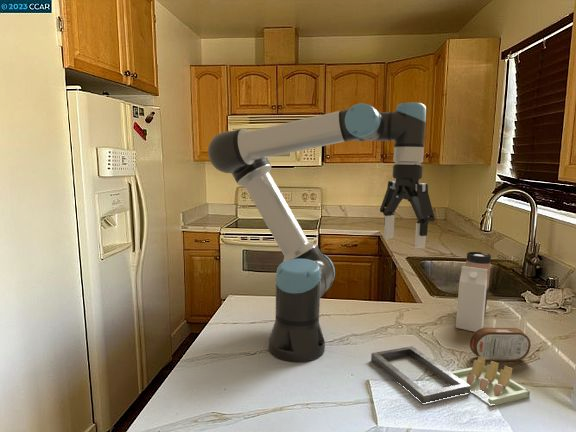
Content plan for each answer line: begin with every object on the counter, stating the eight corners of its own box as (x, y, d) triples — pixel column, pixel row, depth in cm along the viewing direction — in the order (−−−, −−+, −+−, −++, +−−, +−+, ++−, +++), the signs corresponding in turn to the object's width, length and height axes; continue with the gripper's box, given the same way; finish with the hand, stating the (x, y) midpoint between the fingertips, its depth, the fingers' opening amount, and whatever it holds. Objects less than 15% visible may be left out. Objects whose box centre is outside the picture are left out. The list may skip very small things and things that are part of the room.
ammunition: (479, 353, 95) (466, 365, 90) (513, 365, 90) (501, 378, 85) (477, 372, 96) (464, 384, 90) (511, 385, 91) (499, 399, 85)
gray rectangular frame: (423, 405, 83) (423, 396, 83) (371, 360, 102) (371, 353, 101) (469, 394, 88) (470, 385, 87) (411, 353, 106) (412, 346, 106)
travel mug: (464, 312, 136) (469, 255, 134) (460, 305, 144) (464, 251, 141) (488, 315, 135) (494, 257, 132) (483, 307, 142) (488, 252, 139)
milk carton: (459, 320, 129) (463, 263, 127) (483, 325, 126) (488, 267, 123) (455, 328, 123) (460, 268, 121) (481, 333, 120) (486, 272, 117)
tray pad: (491, 406, 83) (491, 400, 83) (449, 377, 94) (449, 371, 94) (529, 396, 87) (529, 390, 87) (484, 370, 98) (485, 364, 98)
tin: (523, 356, 106) (526, 326, 104) (531, 362, 102) (534, 331, 101) (467, 356, 105) (470, 326, 104) (473, 362, 102) (476, 331, 101)
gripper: (454, 164, 95) (447, 251, 98) (392, 163, 118) (388, 234, 121) (428, 163, 92) (422, 253, 95) (370, 163, 115) (366, 235, 118)
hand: (403, 243), depth 108 cm, fingers open, 13 cm apart
